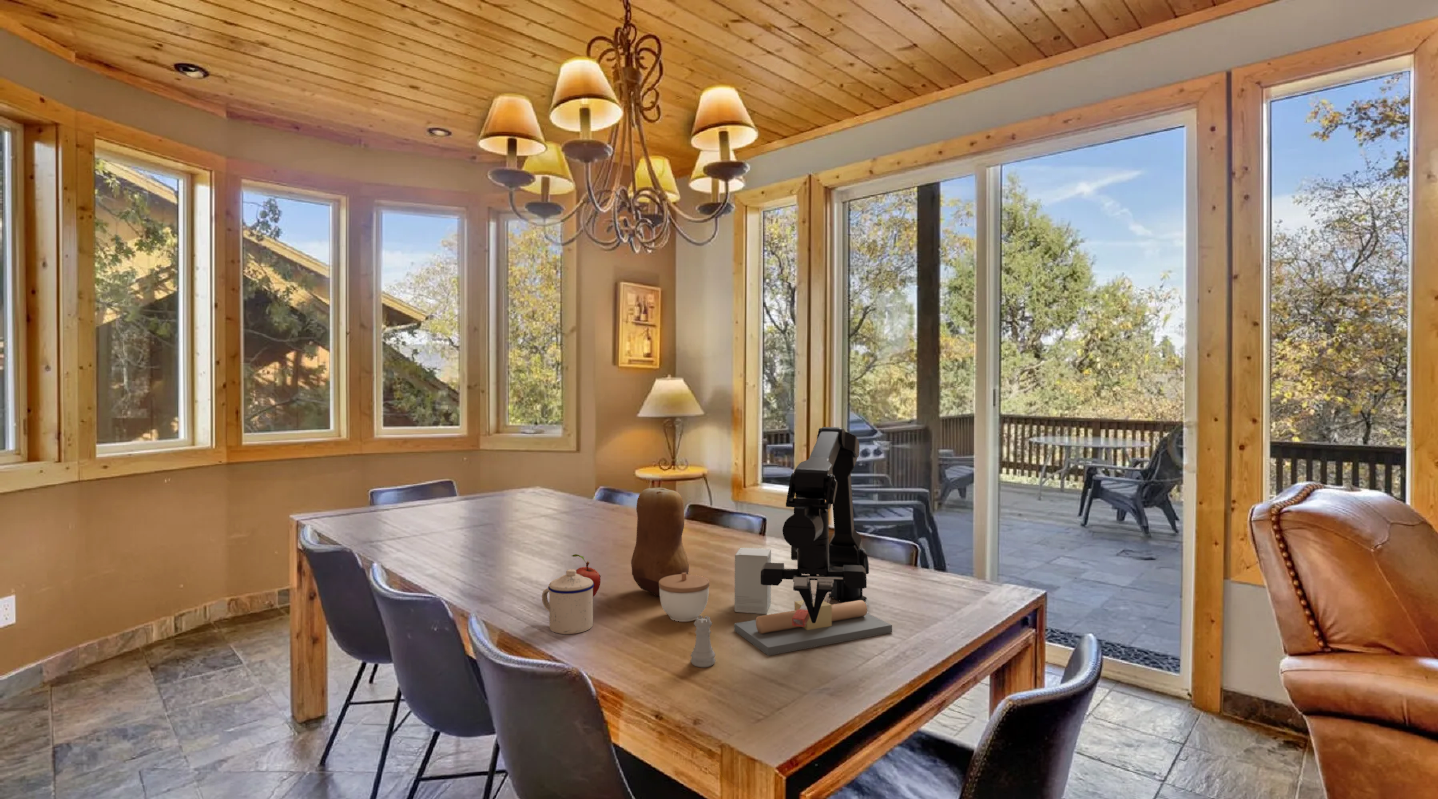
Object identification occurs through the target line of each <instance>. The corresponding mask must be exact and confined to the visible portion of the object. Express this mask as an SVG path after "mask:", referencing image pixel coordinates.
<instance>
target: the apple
mask: <svg viewBox="0 0 1438 799" xmlns="http://www.w3.org/2000/svg"><path fill="white" fill-rule="evenodd" d="M571 557H573V558H574V557H576V558H577V557H580V558H581V559H582V560H583V561H584V562H585V564H586V565H585V566H581V567H578V568H577V569H575V570H576V574H579V575H581V576H583V577H587V578H590V579H591V580H592V581H593V583H594V587H593V598H594V597H595V596H596V595H597V593H598V591H599V588H600V587H601V576H602V575H600V573H599V572H598V571H597V570H596V569H594V568H592V567H589V565H590V561H588V560H587V561H585V557H584V556H582V555H581V554H580V555H579V554H577V553H575V554H573V555H571Z"/></svg>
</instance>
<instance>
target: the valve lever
mask: <svg viewBox="0 0 1438 799" xmlns="http://www.w3.org/2000/svg"><path fill="white" fill-rule="evenodd" d="M815 595H816V592H815V593H814V592H813V593H812V599H813V606H814V603H815ZM808 620H809V613H808V610H807V607H806V605H805V602H804V603H803V604H802V606H801V607H800V609H797V611H796V613H795V614H794V616H793V617H792V626H801V627H805V625H806V623H807V621H808Z"/></svg>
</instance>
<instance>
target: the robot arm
mask: <svg viewBox="0 0 1438 799" xmlns="http://www.w3.org/2000/svg"><path fill="white" fill-rule="evenodd" d="M859 456H860V441H859V440H858V437H857V436H856V435H854V434H852V433H850V432H848V431H846V430H845V429H844V428H843V427H839V426H822V427H819V428H818V431H817V435H816V441H815V443H814V447H813V448H812V450H811V452H810V455H809V458H807V460H804V461H801V462H799V463H798V464H797V466H796V467H795V469H794V471H793V472H792V473H791V475H790V479H789V485H788V489H787V490H788V491H787V496H786V502H785V507H786V508H793V514H792V515H790V516H789V517H788V518H787V519H786V520H785V521H784V523H783V526H782V535H783V538H784V540H785V541H786V543H787V544H788V545H789V546H790V559H791V561H797V563H796V564H797V565H796V566H797V568H785V563H783V562H771V563H765V564H764V565H763V567H762V570H761V584H762V585H771V586H773V587H774V586H779V585H780V584H781V583H782V582H783V580H792V582H793V587H792V589H793V591H795V592H799V594H800V596H801V598H802V600H804V602H805V605H806V607H807V610H808V613H809V615H810V618H811V621H812V623H816V620H817V617H818V613H819V610H820V607H821V604H822V602H823V601H825V598H826V597H827V595H828V596H829V597H830V598H833V599H834V600H837V601H838V602H840V603H845V602H851V601H858V600H863V601H865V600H868V598H867V597H866V596H864V595H863V592H864V591H863V590H864V589H867V587H868V586H867V584H868V583H867V581H868V580H867V575H869V574H870V563H869V557H868V554H867V553H866V549H865V548H864V546H863V539H862V537H861V536H860V534H859V533H858V532H857V530H856V529H855V523H854V522H855V521H854V506H853V490H852V471H853V470H854V468H855V465H856V463H857V461H858V459H859ZM831 507H832V516H833V517H832V518H833V520H832V521H833V534H832V535H831V537H830V535H829V534H830V533H829V532H830V531H829V530H830V528H829V527H830V525H829V523H830V522H829V515H830V514H829V510H830V509H831ZM829 537H830V538H829ZM811 581H816V588H815V594H816V595H815V603H814V606H813V599H812V585H811V584H812V582H811Z"/></svg>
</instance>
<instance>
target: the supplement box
mask: <svg viewBox="0 0 1438 799" xmlns="http://www.w3.org/2000/svg"><path fill="white" fill-rule="evenodd" d="M765 563H772V549H771V548H762V547H761V548H760V547H740V548H738V550H737V551H736V553H735V554H734V613H735V612H736V613H746V614H759V615H768V611H769V609H770V606H771V604H772V585H762V584H761V570H762V567H763V565H764V564H765Z"/></svg>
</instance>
